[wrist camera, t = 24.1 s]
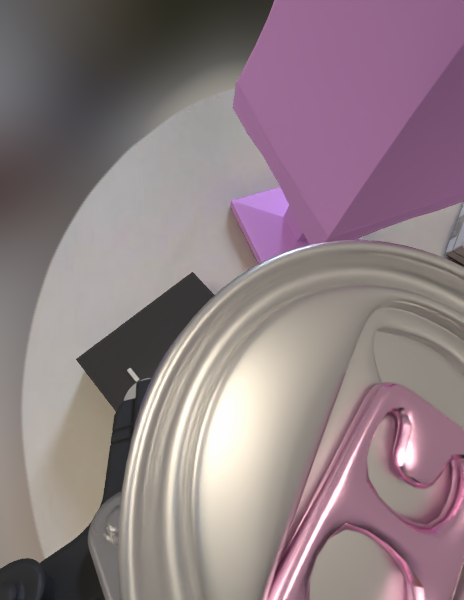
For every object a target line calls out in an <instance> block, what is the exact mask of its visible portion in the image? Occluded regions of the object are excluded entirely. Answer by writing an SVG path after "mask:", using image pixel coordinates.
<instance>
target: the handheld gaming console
mask: <svg viewBox="0 0 464 600" xmlns="http://www.w3.org/2000/svg"><path fill="white" fill-rule="evenodd" d="M446 255H448V256H450V257H451V258H453V259H455V260H456V261H458V262H459V263H461V264H463V265H464V205H463V207H462V210H461V213H460V215H459V218H458V221H457V223H456V226H455V229H454V231H453V234H452V237H451V239H450V242H449V245H448V247H447V250H446Z"/></svg>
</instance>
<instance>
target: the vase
mask: <svg viewBox="0 0 464 600" xmlns="http://www.w3.org/2000/svg"><path fill="white" fill-rule="evenodd" d="M233 109H234V110H235V112H236V114H237V116H238V118H239V119H240V121H241V123H242V125H243V127H244V128H245V130H246V132H247V134H248V135H249V136H250V138H251V139H252V141H253V142H254V144H255V145H256V146H257V148H258V149H259V151H260V152H261V154H262V155H263V157H264V158H265V160H266V162H267V164H268V165H269V167H270V169H271V171H272V172H273V174H274V176H275V178H276V180H277V181H278V183H279V185H280V187H279V188H275V189H272V190H268V191H264V192H261V193H257V194H254V195H250V196H246V197H243V198H239V199H235V200H232V201H231V205H230V207H231V209H232V211H233V213H234V215H235V217H236V219H237V221H238V223H239V225H240V227H241V229H242V231H243V234H244V236H245V238H246V240H247V242H248V244H249V246H250V248H251V250H252V252H253V254H254V256H255V258H256V260H257V262H258V264H260V263H261V262H263V261H265V260H267V259H270V258H272V257H274V256H277V255H279V254H281V253H284V252H287V251H290V250H293V249H296V248H300V247H304V246H308V245H312V244H318V243H323V242H331V241H342V240H359V239H358V238H360V237H362V236H365V235H367V234H370V233H372V232H375V231H377V230H380V229H382V228H385V227H388V226H391V225H394V224H396V223H399V222H402V221H405V220H408V219H411V218H414V217H417V216H420V215H424V214H427V213H431V212H434V211H438V210H440V209H443V208H446V207H449V206H452V205H455V204H457V203H460V202H463V201H464V0H275V1H274V3H273V6H272V9H271V12H270V15H269V17H268V19H267V21H266V23H265V26H264V28H263V30H262V32H261V34H260V37H259V39H258V41H257V44H256V46H255V48H254V49H253V51H252V53H251V55H250V57H249V59H248V61H247V63H246V65H245V67H244V69H243V71H242V73H241V75H240V77H239V79H238V81H237V83H236V88H235V95H234V103H233Z"/></svg>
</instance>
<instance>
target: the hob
mask: <svg viewBox="0 0 464 600" xmlns="http://www.w3.org/2000/svg"><path fill="white" fill-rule="evenodd" d="M213 296H215V295H214V294H213V293H212V292H211V291H210V290H209V289H208V288H207V287H206V286H205V285H204V284H203V282H202V281H201V280H200V279H199V278H198V277H197V276H196V275H195V274H194V273H193V272H192V273H190V274H189V275H188V276H186V277H185V278H184V279H182V280H181V281H180V282H178V283H177V284H176V285H174V286H173V287H172V288H170V289H169V290H168V291H166V292H165V293H164V294H162V295H161V296H160V297H158V298H157V299H156V300H154V301H153V302H152V303H150V304H149V305H148V306H146V307H145V308H144V309H142V310H141V311H140V312H138V313H137V314H136V315H134V316H133V317H132V318H130V319H129V320H128V321H126V322H125V323H124V324H122V325H121V326H120V327H118V328H117V329H116V330H114V331H113V332H112V333H110V334H109V335H108V336H106V337H105V338H104V339H102V340H101V341H100V342H98V343H97V344H96V345H94V346H93V347H92V348H90V349H89V350H88V351H86V352H85V353H84V354H82V355H81V356H80V357H78V358H77V359H76V360H77V361H78V363H79V364H80V365H81V367H82V368H83V369H84V370H85V372H86V373H87V374H88V376H89V377H90V378H91V380H92V381H93V382H94V383H95V385H96V386H97V387H98V389H99V390H100V391H101V393H102V394H103V395H104V396H105V398H106V399H107V400H108V402H109V403H110V404H111V406H112V407H113V408H114V410H115V411H116V412H117V410H118V409H119V407H120V405H121V403H122V402H123V401H124V398H125V396H126V393H127V392H128V390H129V389H130V388H131V387H132V386H133V385H134V384H135V383H137V382H138V381H140V380H143V379H146V378H153V375H154V373H155V371H156V369H157V368H158V366H159V364H160V362H161V361H162V359H163V357H164V355H165V354H166V352H167V351H168V349H169V348H170V346H171V345H172V344H173V342H174V341H175V339H176V338H177V337H178V336H179V334H180V333H181V332H182V331H183V329H184V328H185V327H186V326H187V325H188V323H189V322H190V321H191V320H192V318H193V317H194V316H195V315H196V314H197V313H198V312H199V310H200V309H201V308H202V307H203V306H204V305H205V304H206V303H207V302H208V301H209V300H210V299H211V298H212V297H213Z"/></svg>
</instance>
